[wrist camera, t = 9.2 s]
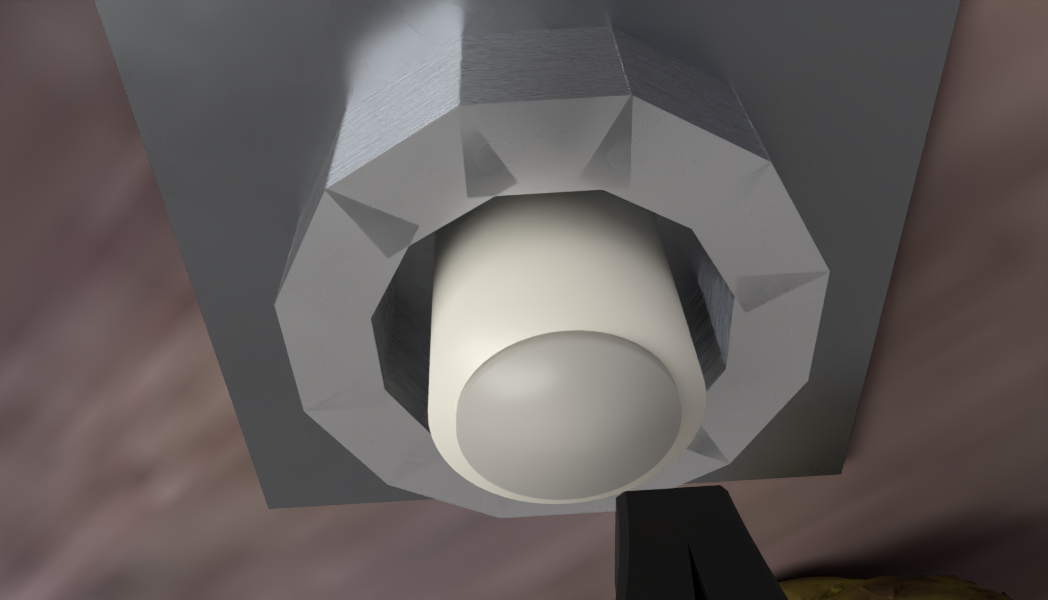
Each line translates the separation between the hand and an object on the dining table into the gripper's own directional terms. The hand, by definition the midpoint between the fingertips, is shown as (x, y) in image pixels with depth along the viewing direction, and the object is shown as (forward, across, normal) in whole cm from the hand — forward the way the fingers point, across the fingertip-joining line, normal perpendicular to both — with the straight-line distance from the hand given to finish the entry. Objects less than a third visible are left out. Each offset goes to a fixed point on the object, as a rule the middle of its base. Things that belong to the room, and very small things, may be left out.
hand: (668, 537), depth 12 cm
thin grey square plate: (+10, +1, +2) cm, 10 cm away
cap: (+9, +1, +2) cm, 9 cm away
